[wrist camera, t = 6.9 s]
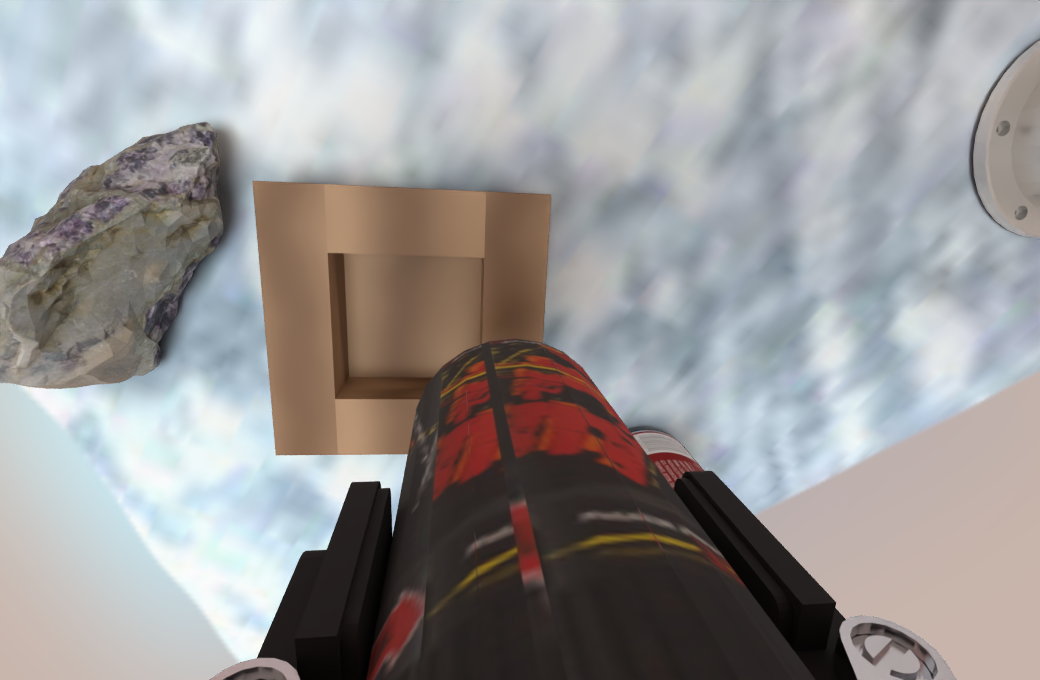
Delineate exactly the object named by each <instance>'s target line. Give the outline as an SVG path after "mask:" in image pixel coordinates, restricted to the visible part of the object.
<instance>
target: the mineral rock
mask: <svg viewBox="0 0 1040 680" xmlns="http://www.w3.org/2000/svg"><path fill="white" fill-rule="evenodd" d="M216 136H217V133H216V132H215V131H214V130H213V129H212V128H211V126H210V124H209V123H207V122H203V123H197V124H193V125H187V126H183V127H180V128H179V129H177V130H175V131H172V132H169V133H166V134H158V135H153V136H149V137H143V138H142V139H141V140H139V141H138V142H137V143H135V144H134V145H133V146H131V147H128V148H126V149H125V150H123V151H122V152H120V153H119V154H117V155H115V156H114V157H112V158H111V159H109V160H107V161H106V162H104V163H103V164H102V165H96V166H90V167H88V168H87V169H85V170H83V172H82V173H81V174H80V175H79V177H77V178H76V179H75V180H73V181H72V182H71V183H70V184H69V185H68V186H67V187H66V188H65V189H64V191H63V192H62V193H61V194H60V195H59V198H58V201H57V203H56V204H55V205H54V206H53V207H52V208H51V209H50V211H49V212H48V213H47V214H46V215H44V216H41V217H39V218H36V219H35V221H34V224H33V227H32V229H31V232H30V233H28V234H27V235H26V236H25V237H23V238H21V239H20V240H18V241H16V242H15V243H13V244H11V245H9V246H8V248H7V250H6V252H5V254H4V256H3V257H2V258H0V383H12V384H17V385H23V386H28V387H36V388H58V389H62V388H76V387H82V386H88V385H95V384H111V383H120V382H123V381H125V380H128V379H129V378H131V377H132V376H140V375H145V374H147V373H148V372H150V371H152V370H153V369H154V368H156V367H157V366H158V365H159V363H160V360H161V355H162V353H161V352H160V347H159V345H158V342H159V341H160V339H161V338H162V336H163V334H164V333H165V331H166V330H167V329H168V328H169V327H168V325H169V323H170V322H171V321H172V320H173V319H174V317H175V316H176V315H177V309H178V299H179V297H180V295H181V293H182V291H183V290H184V288H185V286H186V284H187V283H188V282H189V280H190V279H191V277H192V274H193V270H194V269H195V268H196V267H197V265H198V264H199V263H200V262H201V260H202V259H203V258H204V257H206V256H207V255H208V254H210V253H211V252H213V251H214V249H215V247H216V246H217V244H218V243H219V238H220V236H221V235H222V234H223V228H224V226H223V218H222V212H221V206H220V203H219V199H218V192H217V187H216V185H217V182H218V171H219V167H220V163H221V162H220V158H219V154H218V149H217V140H216Z"/></svg>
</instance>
